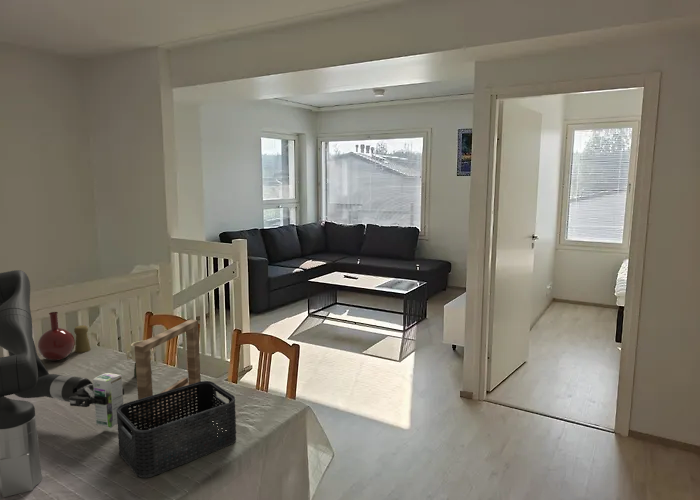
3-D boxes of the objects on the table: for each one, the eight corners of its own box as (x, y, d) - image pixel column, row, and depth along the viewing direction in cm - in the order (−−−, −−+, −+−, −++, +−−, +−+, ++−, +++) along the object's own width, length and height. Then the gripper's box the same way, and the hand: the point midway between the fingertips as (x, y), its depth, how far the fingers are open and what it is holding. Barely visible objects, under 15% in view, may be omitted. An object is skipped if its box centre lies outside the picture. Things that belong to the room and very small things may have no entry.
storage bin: (210, 417, 155) (208, 377, 153) (241, 441, 141) (239, 398, 139) (115, 451, 136) (112, 406, 134) (141, 483, 122) (137, 434, 120)
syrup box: (95, 425, 144) (91, 379, 142) (110, 416, 150) (106, 371, 148) (110, 428, 143) (107, 381, 140) (125, 418, 148) (122, 373, 146)
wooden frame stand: (158, 425, 150) (153, 348, 146) (129, 420, 153) (123, 344, 149) (210, 387, 176) (207, 321, 172) (184, 383, 179) (181, 318, 175)
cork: (83, 353, 209) (81, 328, 207) (71, 352, 210) (69, 327, 208) (93, 348, 214) (91, 324, 213) (82, 347, 216) (79, 323, 214)
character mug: (132, 383, 179) (129, 349, 177) (124, 377, 185) (122, 344, 182) (161, 374, 187) (159, 342, 185) (153, 369, 192) (151, 337, 190)
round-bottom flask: (74, 362, 199) (70, 315, 196) (37, 367, 193) (31, 319, 190) (77, 351, 211) (73, 307, 207) (41, 356, 205) (36, 310, 202)
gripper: (49, 386, 142) (95, 394, 137) (89, 368, 155) (132, 375, 150) (51, 411, 143) (97, 419, 138) (90, 390, 157) (133, 398, 152)
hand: (115, 396), depth 144 cm, fingers closed on syrup box, 6 cm apart
